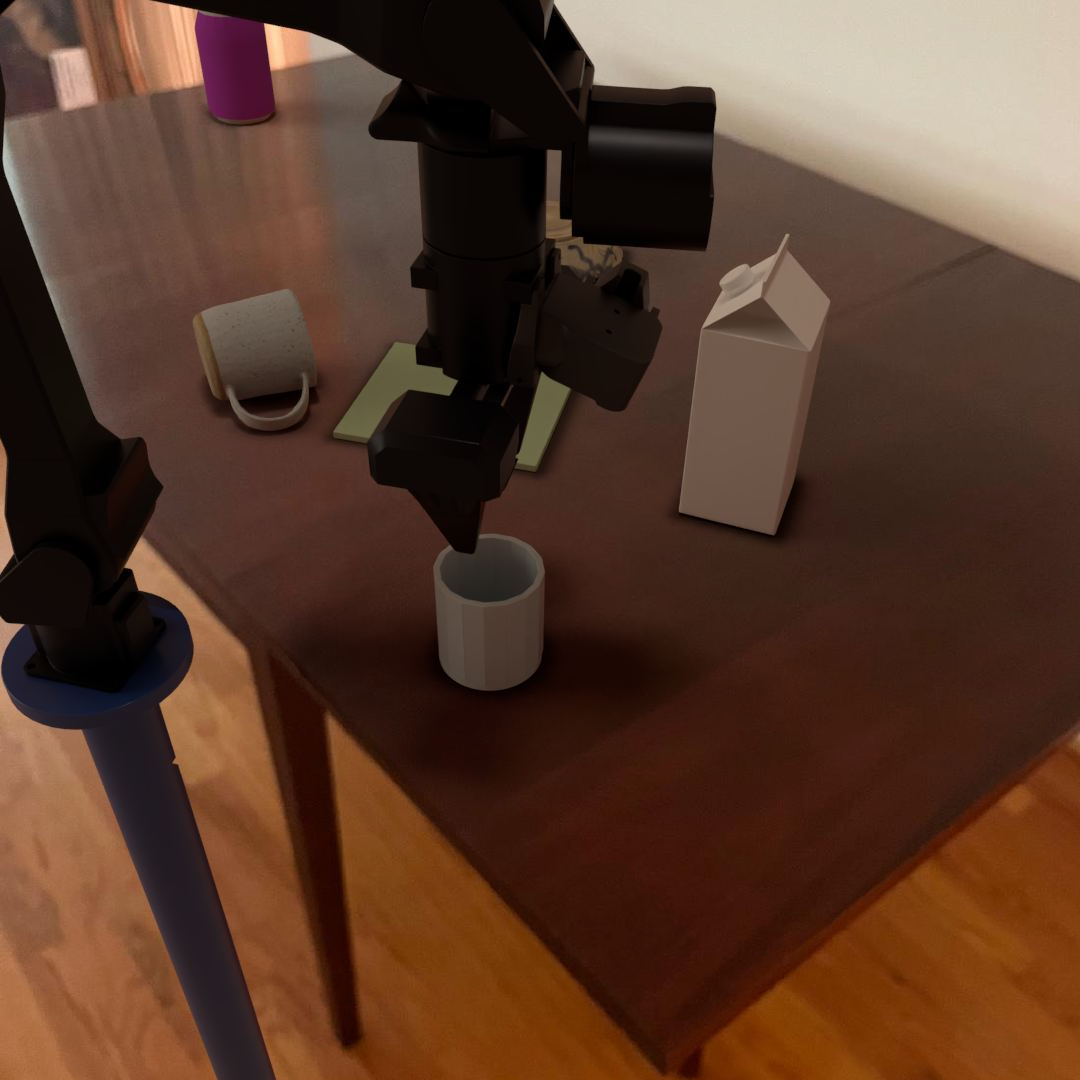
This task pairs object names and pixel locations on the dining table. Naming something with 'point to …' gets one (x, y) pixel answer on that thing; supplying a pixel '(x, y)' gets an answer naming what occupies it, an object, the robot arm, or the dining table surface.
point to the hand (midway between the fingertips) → (489, 499)
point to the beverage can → (235, 68)
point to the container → (490, 612)
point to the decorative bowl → (579, 247)
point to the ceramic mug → (257, 353)
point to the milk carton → (753, 393)
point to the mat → (405, 374)
